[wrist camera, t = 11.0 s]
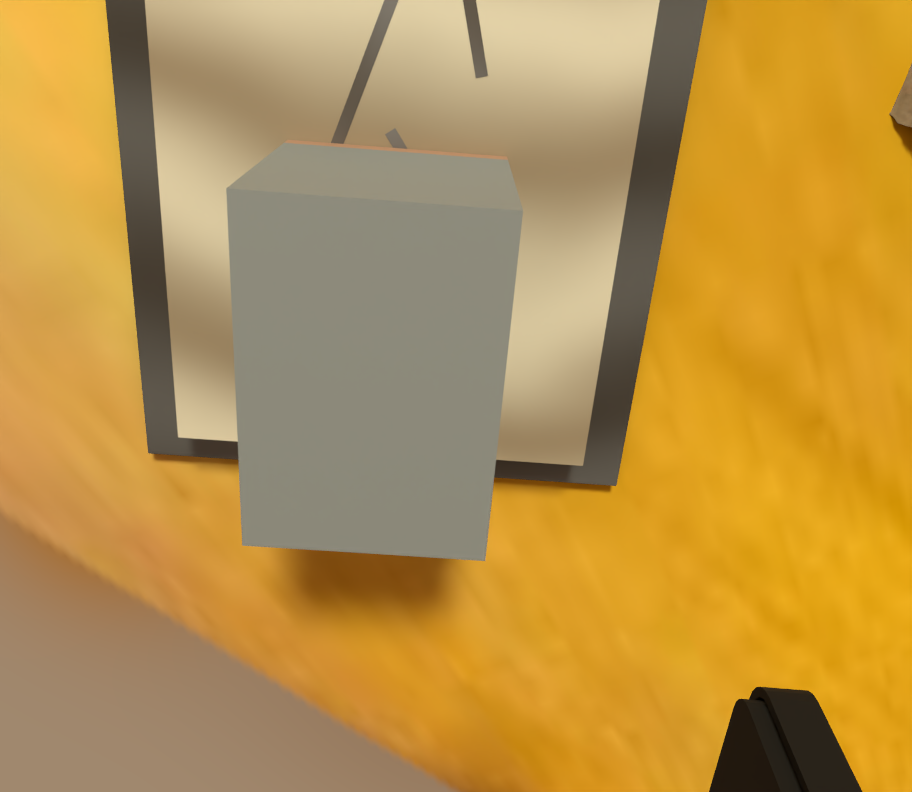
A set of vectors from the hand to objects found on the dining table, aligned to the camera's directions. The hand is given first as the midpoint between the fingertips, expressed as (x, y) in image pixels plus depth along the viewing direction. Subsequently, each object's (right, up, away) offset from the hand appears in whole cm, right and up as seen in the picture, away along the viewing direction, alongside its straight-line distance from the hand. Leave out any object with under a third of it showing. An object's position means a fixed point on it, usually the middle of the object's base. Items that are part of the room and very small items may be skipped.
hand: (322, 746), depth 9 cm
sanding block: (0, +7, +13) cm, 15 cm away
